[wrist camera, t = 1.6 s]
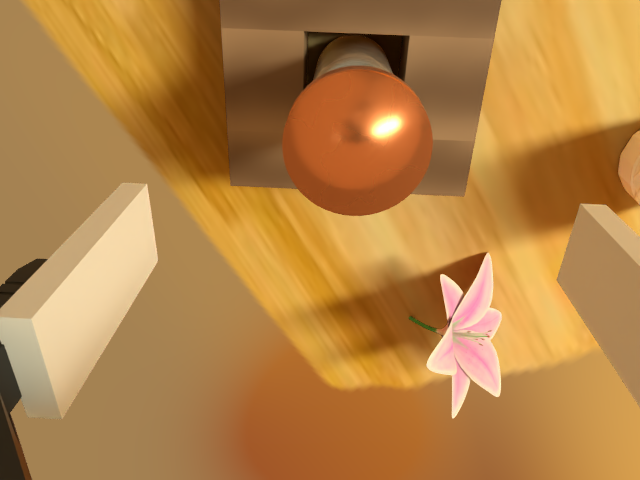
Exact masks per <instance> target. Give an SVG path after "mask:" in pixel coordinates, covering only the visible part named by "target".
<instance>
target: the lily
mask: <svg viewBox="0 0 640 480" xmlns="http://www.w3.org/2000/svg"><path fill="white" fill-rule="evenodd" d="M440 281H441V286H442V292H443V297H444V303H445V308H446V314H447V321H448V323H447V325H446V326H445V327H444V328H443V329H436V328H433V327H430V326H428V325H425V324H424V323H422V322H420V321H418V320H416V319H415V318H413V317H411V316H410V317H409V319H410V320H412V321H413V322H415V323H416V324H418V325H420V326H422V327H424V328H426V329H428V330H431V331H433V332H436V333H438V334H440V335H442V337H443V338H442V339H441V341H440V342H439V344H438V345H437V346H436V348H435V349H434V351H433V352H432V354H431V355H430V357H429V359H428V361H427V365H426V366H427V367H428V369H429V370H431V371H433V372H436V373H440V374H446V375H452V418H454V417H455V416H456V415H457V413H458V411H459V410H460V408H461V406H462V404H463V401H464V399H465V396H466V394H467V391H468V388H469V384H470V378H471V379H472V380H473V381H474V382H476V383H477V384H478V385H480V386H481V387H482V388H484V389H485V390H487V391H488V392H490V393H491V394H493V395H494V396H497V397H498V396H499V395H500V391H501V377H500V367H499V360H498V357H497V353H496V350H495V348H494V346H493V344H492V342H491V341H490V340H491V339H492V338H493V336H494V335H495V333H496V331H497V329H498V327H499V325H500V322H501V319H502V316H501V312H500V311H498V310H496V309H493V308H490V304H491V301H492V294H493V271H492V262H491V257H490V255H489V252H488V253H487V254H486V256H485V258H484V260H483V263H482V265H481V268H480V270H479V272H478V275H477V277H476V279H475V280H474V282H473V284H472V286H471V287H470V289H469V290H468V292H467V294H466V295H465V297H464V294H463V291H462V290H461V289H460V287H459V286H458V285H457V284H456V283H455V282H454V281H453V280H451V279H450V278H449V277H447V276H446V275H444V274H441V275H440Z"/></svg>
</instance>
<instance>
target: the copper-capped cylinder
mask: <svg viewBox="0 0 640 480" xmlns="http://www.w3.org/2000/svg"><path fill="white" fill-rule="evenodd" d="M432 148H433V136H432V129H431V124H430V121H429V118H428V116H427V113H426V111H425V109H424V107H423V105H422V103H421V101H420V99H419V98H418V96H417V95H416V94H415V92H414V91H413V90H412V89H411V88H410V87H409V86H408V85H407V84H406V83H405V82H404V81H403V80H401V79H400V78H399V77H397V76H395V75H394V74H393V73H392V70H391V67H390V65H389V62H388V59H387V57H386V54H385V53H384V51H383V49H382V48H381V47H380V46H379V45H378V44H377V43H376V42H375V41H374V40H372V39H370V38H368V37H366V36H362V35H357V34H350V35H345V36H341V37H339V38H337V39H335V40H333V41H332V42H331V43H330V44H328V45H327V46H326V48H325V49H324V50H323V52H322V53H321V55H320V57H319V60H318V63H317V67H316V71H315V75H314V79H313V81H312V82H311V83H310V84H309V85H307V86H306V87H305V89H304V90H303V91H302V92H301V93H300V94H299V96H298V97H297V99H296V100H295V102H294V104H293V106H292V108H291V110H290V112H289V115H288V118H287V121H286V124H285V127H284V132H283V139H282V151H283V158H284V163H285V166H286V169H287V172H288V174H289V176H290V178H291V180H292V181H293V183H294V184H295V186H296V187H297V188H298V190H299V191H300V192H301V193H302V194H303V195H304V196H305V197H306V198H308V199H309V200H310V201H311V202H313V203H314V204H316V205H317V206H319V207H321V208H323V209H325V210H328V211H331V212H334V213H338V214H342V215H350V216H362V215H370V214H374V213H378V212H381V211H384V210H387V209H389V208H391V207H393V206H395V205H397V204H398V203H400V202H401V201H403V200H404V199H405V198H406V197H407V196H409V195H410V194H411V193H412V192H413V191H414V190H415V188H416V187H417V186H418V185H419V183H420V182H421V180H422V179H423V177H424V175H425V173H426V171H427V169H428V166H429V163H430V160H431V155H432Z"/></svg>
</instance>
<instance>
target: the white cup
mask: <svg viewBox="0 0 640 480" xmlns="http://www.w3.org/2000/svg"><path fill="white" fill-rule="evenodd" d="M618 175H619V177H620V180H621V182H622V184H623V187H624V189H625V190H626V191H627V192H628V193H629V194H630V195H631V196H632V197H633V198H634V199H635V200H636V201H637V203H638V204H639V205H640V130H639V131H637V132H636V133H635V134H633V136H632V137H631V139H630V140H629V142H628V143H627V145H626V146H625V148H624V150H623V151H622V153H621V155H620V162H619V169H618Z"/></svg>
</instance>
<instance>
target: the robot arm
mask: <svg viewBox="0 0 640 480" xmlns="http://www.w3.org/2000/svg"><path fill="white" fill-rule="evenodd" d="M157 262H158V256H157V249H156V242H155V235H154V229H153V221H152V215H151V207H150V200H149V194H148V187H147V184H140V183H121V185H119V187H118V188H117V189H116V190H115V191H114V192H113V193H112V194H111V195H110V196H109V197H108V198H107V199H106V200H105V201H104V202H103V203H102V204H101V205H100V206H99V207H98V208H97V209H96V210H95V211H94V213H92V214H91V215H90V216H89V217H88V219H87V220H86V221H85V222H84V223H83V224H82V225H81V226H80V227H79V228H78V229H77V230H76V231H75V232H74V233H73V234H72V235H71V236H70V237H69V238H68V239H67V240H66V241H65V242H64V243H63V244H62V246H60V247H59V248H58V249H57V251H55V253H54V254H53V255H52V256H51V257H50V258H49V259H36V260H34V261H32V262H30V263H28V264H26V265H25V266H23V267H21V268H19V269H18V270H17V271H16V272H15V273H13V274H12V276H10V277H9V278H8V279H7V280H6V281H5V284H2V285H1V286H0V480H32V478H31V475H30V473H29V469H28V466H27V463H26V460H25V457H24V454H23V450H22V447H21V444H20V441H19V438H18V435H17V432H16V429H15V426H14V423H13V420H12V418H11V415H10V412H11V411H12V409H13V408H14V407H15V405H16V404H17V403H18V401H19V400H20V398H21V400H22V403H23V406H24V409H25V411H26V414H27V417H32V418H49V419H63V417H64V415H65V414H66V412H67V410H68V409H69V407H70V405H71V404H72V402H73V400H74V399H75V397H76V395H77V394H78V392H79V391H80V389H81V387H82V385H83V384H84V382H85V381H86V379H87V377H88V376H89V374H90V372H91V371H92V369H93V367H94V366H95V364H96V362H97V361H98V359H99V357H100V356H101V354H102V352H103V351H104V349H105V347H106V346H107V344H108V343H109V341H110V339H111V338H112V336H113V334H114V333H115V331H116V329H117V328H118V326H119V324H120V323H121V321H122V319H123V318H124V316H125V315H126V313H127V311H128V310H129V308H130V306H131V304H132V303H133V301H134V300H135V298H136V296H137V295H138V293H139V291H140V290H141V288H142V286H143V285H144V283H145V282H146V280H147V278H148V277H149V275H150V273H151V272H152V270H153V268H154V267H155V265H156V263H157ZM557 281H558V283H559V284H560V286H561V287H562V289H563V291H564V292H565V294H566V295H567V297H568V298H569V300H570V301H571V303H572V304H573V306H574V307H575V309H576V310H577V312H578V314H579V315H580V317H581V318H582V320H583V321H584V323H585V324H586V326H587V327H588V329H589V330H590V332H591V333H592V335H593V336H594V338H595V340H596V341H597V343H598V344H599V346H600V347H601V349H602V350H603V352H604V353H605V355H606V356H607V358H608V359H609V361H610V363H611V364H612V366H613V367H614V369H615V370H616V372H617V373H618V375H619V376H620V378H621V379H622V381H623V382H624V384H625V385H626V387H627V388H628V390H629V391H630V393H631V394H632V396H633V398H634V399H635V401H636V402H637V404H638V405H639V407H640V237H639V236H638V235H637V234H636V233H635V232H634V231H633V230H632V229H631V228H630V227H629V226H628V225H627V224H626V223H625V222H624V221H623V220H622V219H620V218H619V217H618V216H617V215H616V214H615V213H614V212H613V211H612V210H611V209H610V208H609V207H608V206H607V205H600V204H580V206H579V210H578V213H577V216H576V219H575V222H574V226H573V229H572V232H571V235H570V239H569V242H568V245H567V248H566V252H565V255H564V258H563V261H562V264H561V268H560V271H559V274H558V277H557Z"/></svg>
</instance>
